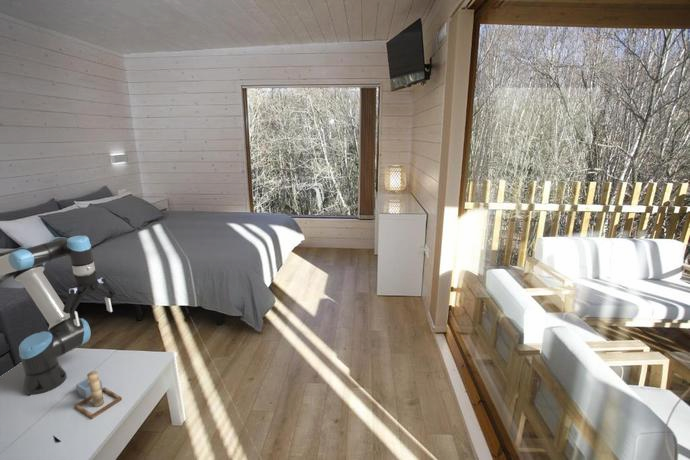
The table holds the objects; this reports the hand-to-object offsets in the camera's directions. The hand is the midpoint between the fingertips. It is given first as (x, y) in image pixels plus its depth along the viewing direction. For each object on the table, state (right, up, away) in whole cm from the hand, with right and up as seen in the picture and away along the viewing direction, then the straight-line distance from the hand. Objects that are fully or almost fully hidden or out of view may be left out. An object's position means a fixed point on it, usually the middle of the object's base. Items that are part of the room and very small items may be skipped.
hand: (94, 317), depth 162 cm
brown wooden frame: (+6, -35, -6) cm, 36 cm away
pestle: (+6, -35, -6) cm, 36 cm away
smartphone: (0, -39, -16) cm, 42 cm away
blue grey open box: (-2, -33, +1) cm, 33 cm away
